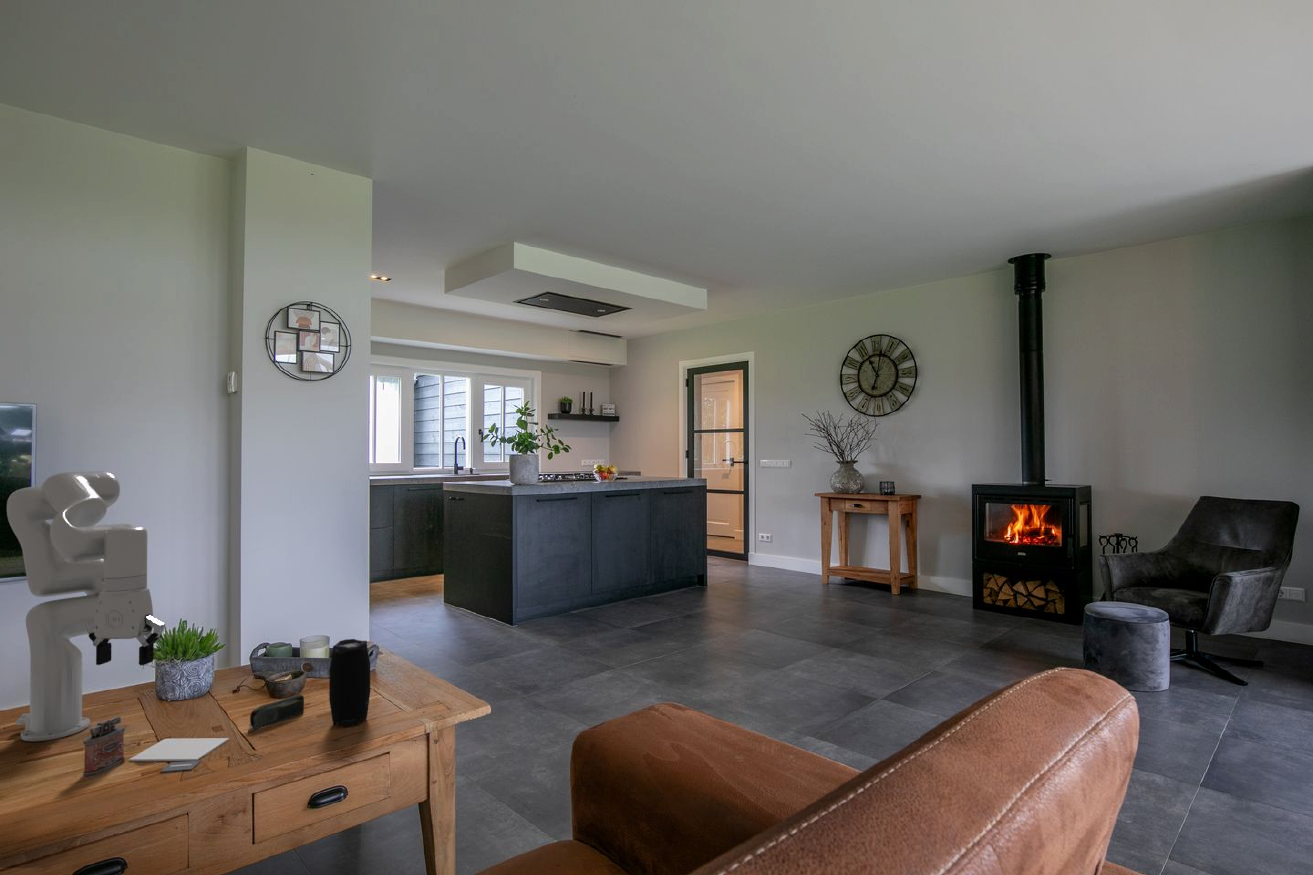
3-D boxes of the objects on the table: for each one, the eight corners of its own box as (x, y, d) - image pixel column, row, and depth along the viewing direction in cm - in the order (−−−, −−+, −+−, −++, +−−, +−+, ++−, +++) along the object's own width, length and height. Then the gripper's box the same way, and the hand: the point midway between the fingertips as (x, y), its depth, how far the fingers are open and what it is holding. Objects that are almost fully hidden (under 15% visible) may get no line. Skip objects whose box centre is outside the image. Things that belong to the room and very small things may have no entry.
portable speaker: (377, 717, 173) (377, 639, 174) (345, 731, 165) (346, 649, 165) (353, 712, 177) (353, 636, 177) (321, 725, 169) (321, 645, 169)
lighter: (91, 778, 142) (92, 729, 142) (78, 776, 143) (79, 728, 143) (128, 761, 150) (129, 714, 150) (116, 759, 150) (116, 713, 151)
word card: (160, 772, 144) (160, 770, 144) (170, 764, 148) (170, 762, 148) (191, 770, 145) (191, 768, 145) (200, 761, 149) (201, 759, 149)
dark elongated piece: (298, 692, 179) (243, 710, 166) (306, 694, 178) (251, 712, 164) (298, 712, 179) (242, 731, 165) (306, 713, 178) (250, 733, 164)
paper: (128, 761, 150) (128, 759, 150) (165, 740, 161) (165, 738, 161) (197, 760, 150) (197, 758, 150) (229, 739, 161) (229, 738, 161)
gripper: (72, 587, 146) (71, 668, 146) (149, 587, 145) (149, 668, 145) (102, 580, 154) (102, 658, 153) (176, 580, 153) (176, 658, 152)
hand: (124, 663), depth 149 cm, fingers open, 9 cm apart
